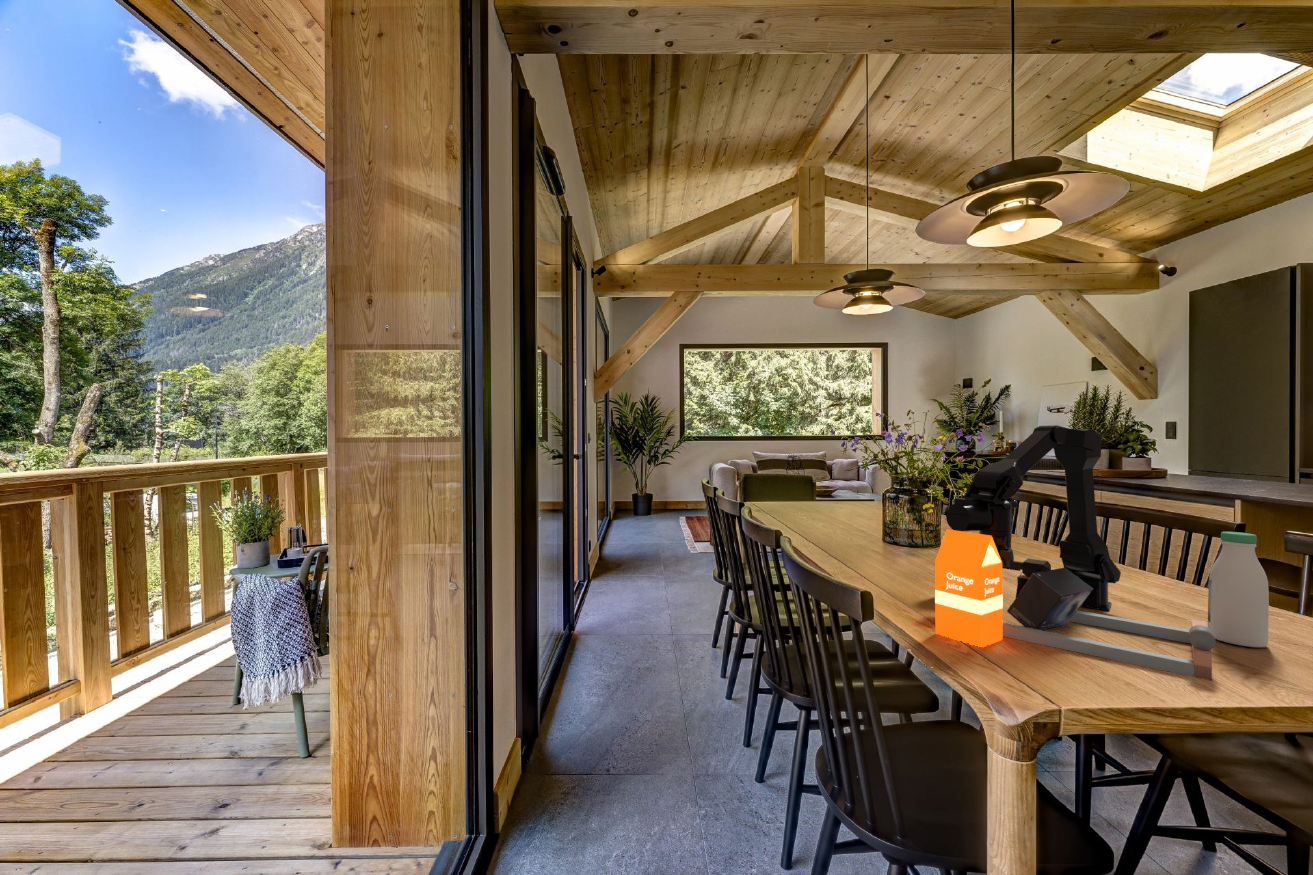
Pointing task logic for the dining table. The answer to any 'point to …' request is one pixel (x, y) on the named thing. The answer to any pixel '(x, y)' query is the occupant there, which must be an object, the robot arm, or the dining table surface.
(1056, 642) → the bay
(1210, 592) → the milk bottle
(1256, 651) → the dining table surface
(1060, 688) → the dining table surface
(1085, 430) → the robot arm
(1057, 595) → the small box
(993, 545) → the orange juice
